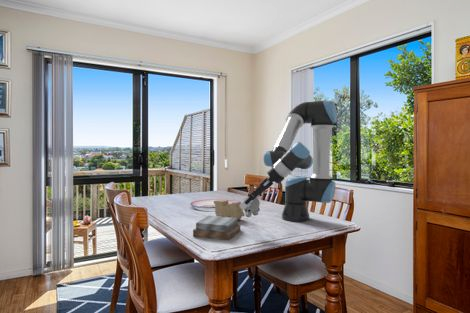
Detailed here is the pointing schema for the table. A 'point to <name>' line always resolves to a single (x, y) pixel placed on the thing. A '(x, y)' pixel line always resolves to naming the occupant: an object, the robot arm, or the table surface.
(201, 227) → the brick stand
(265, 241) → the table surface
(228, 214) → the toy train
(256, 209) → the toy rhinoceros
